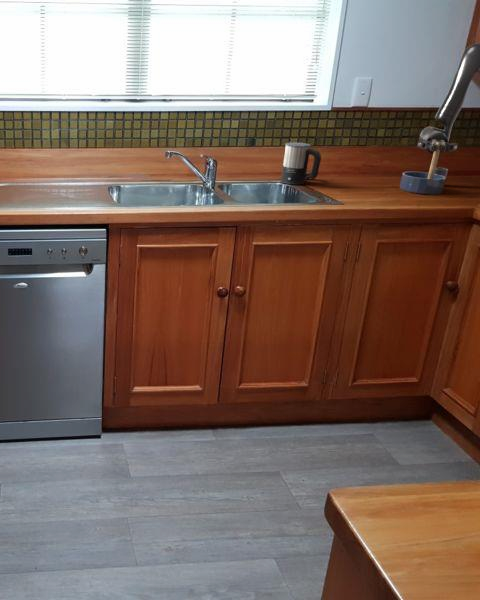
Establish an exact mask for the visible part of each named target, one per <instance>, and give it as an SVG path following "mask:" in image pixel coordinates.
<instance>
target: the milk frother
mask: <svg viewBox="0 0 480 600" xmlns="http://www.w3.org/2000/svg"><path fill="white" fill-rule="evenodd" d="M310 147H311V144H309V143H305V142H285V150H284V156H283V165H282V171H281V177H280V180H279V182H280V183H283V184H287V185H304V184H305V181H306V180H309V179H311V180H316V178H317V177H318V175H319V171H320V170H319V169H320V165H321V162H322V155H321V153H320V151H318V149H314V148H310ZM310 155H311V156H313V159H314V160H313V164H312V168H311V172H307V171H308V165H309V157H310Z"/></svg>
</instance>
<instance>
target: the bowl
mask: <svg viewBox="0 0 480 600" xmlns="http://www.w3.org/2000/svg"><path fill="white" fill-rule="evenodd" d="M428 174H429V172H425V171H404V172H402V174H401V178H400V183H399V189H400V190H402V191H405V192H408V193H409V192H411V193H413V194H414V193H416V195H422V194H424V196H430V195H439V194H442V193H443V190H444V186H445V183H446V179H445V177H444V176H442V175H438V174H434V176H433V179H427V178H428ZM444 182H445V183H444Z"/></svg>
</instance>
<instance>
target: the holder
mask: <svg viewBox="0 0 480 600" xmlns="http://www.w3.org/2000/svg"><path fill="white" fill-rule="evenodd" d="M448 172H449V169H448V168H445V167H436V168H435V172H434V174H438V175H442V176H444V177H445V180H446V179H447V175H448ZM445 183H446V181H445V182H444V184H445Z"/></svg>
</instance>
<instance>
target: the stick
mask: <svg viewBox="0 0 480 600" xmlns="http://www.w3.org/2000/svg"><path fill="white" fill-rule="evenodd" d="M441 144H442V142H436V149H435V152H434V154H432V159H431V162H430V166H429V170H428V173H429V174H428V178H427V179H433V176H434V172H435V168H437V164H438V160H439V156H440V153H439V152H440V148H441Z"/></svg>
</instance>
